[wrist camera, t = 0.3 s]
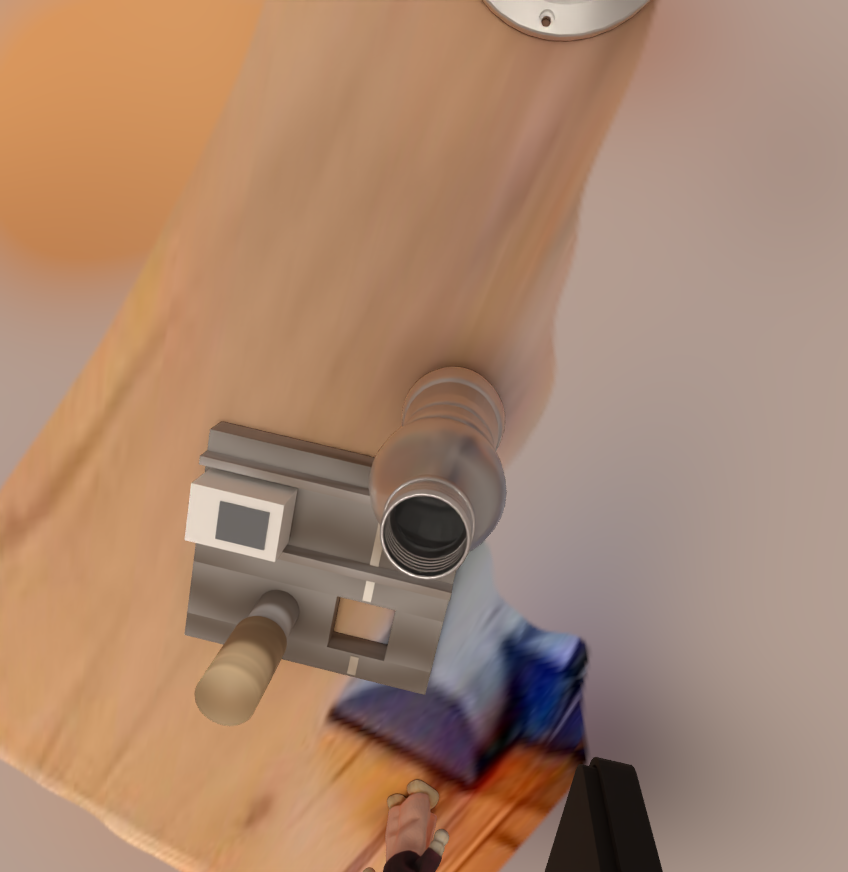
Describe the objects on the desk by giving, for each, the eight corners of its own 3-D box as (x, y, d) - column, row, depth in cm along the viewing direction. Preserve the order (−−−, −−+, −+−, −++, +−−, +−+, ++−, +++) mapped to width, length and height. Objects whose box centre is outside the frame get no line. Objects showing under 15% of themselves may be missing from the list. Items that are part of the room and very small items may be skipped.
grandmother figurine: (405, 838, 56) (380, 1005, 44) (368, 811, 56) (332, 972, 43) (466, 782, 54) (457, 941, 42) (428, 754, 53) (408, 906, 41)
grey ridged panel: (221, 421, 48) (202, 434, 44) (476, 481, 47) (475, 498, 44) (196, 620, 52) (177, 643, 49) (427, 677, 52) (423, 705, 48)
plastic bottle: (494, 351, 44) (491, 439, 25) (512, 450, 46) (523, 603, 27) (397, 369, 45) (323, 467, 26) (418, 466, 47) (364, 624, 28)
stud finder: (210, 467, 46) (190, 483, 43) (297, 488, 46) (283, 506, 43) (203, 521, 47) (183, 541, 44) (288, 542, 47) (274, 563, 44)
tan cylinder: (257, 580, 48) (198, 665, 39) (307, 592, 48) (260, 680, 39) (250, 624, 50) (191, 717, 40) (299, 636, 49) (251, 732, 40)
